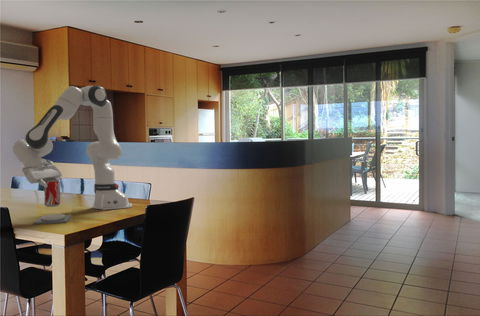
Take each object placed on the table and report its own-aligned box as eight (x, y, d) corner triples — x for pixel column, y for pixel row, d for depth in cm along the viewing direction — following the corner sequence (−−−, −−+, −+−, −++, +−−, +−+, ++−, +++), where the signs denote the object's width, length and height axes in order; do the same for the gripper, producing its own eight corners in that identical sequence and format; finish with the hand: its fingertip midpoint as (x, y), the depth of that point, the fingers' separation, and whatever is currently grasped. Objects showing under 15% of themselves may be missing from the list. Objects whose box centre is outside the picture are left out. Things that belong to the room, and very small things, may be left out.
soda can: (41, 206, 211) (41, 180, 210) (54, 204, 217) (54, 179, 216) (50, 207, 207) (49, 181, 206) (63, 205, 213) (62, 180, 213)
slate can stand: (71, 216, 222) (71, 212, 221) (66, 222, 207) (66, 218, 207) (40, 218, 218) (40, 214, 218) (33, 224, 203) (33, 220, 203)
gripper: (24, 163, 203) (41, 184, 200) (53, 160, 222) (69, 179, 220) (16, 172, 204) (34, 193, 202) (47, 169, 224) (63, 187, 222)
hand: (53, 186), depth 211 cm, fingers closed on soda can, 6 cm apart
